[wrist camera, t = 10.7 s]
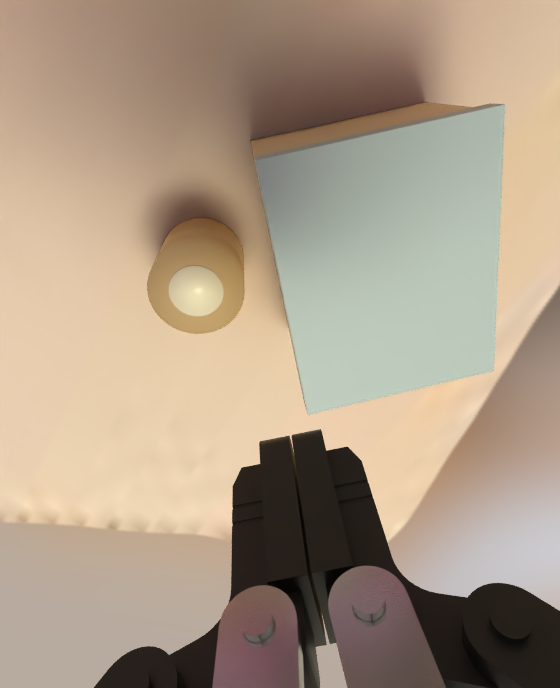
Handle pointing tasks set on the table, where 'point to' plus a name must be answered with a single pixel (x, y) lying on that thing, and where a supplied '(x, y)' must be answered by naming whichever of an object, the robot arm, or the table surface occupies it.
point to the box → (349, 127)
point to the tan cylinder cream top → (198, 277)
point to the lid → (389, 254)
